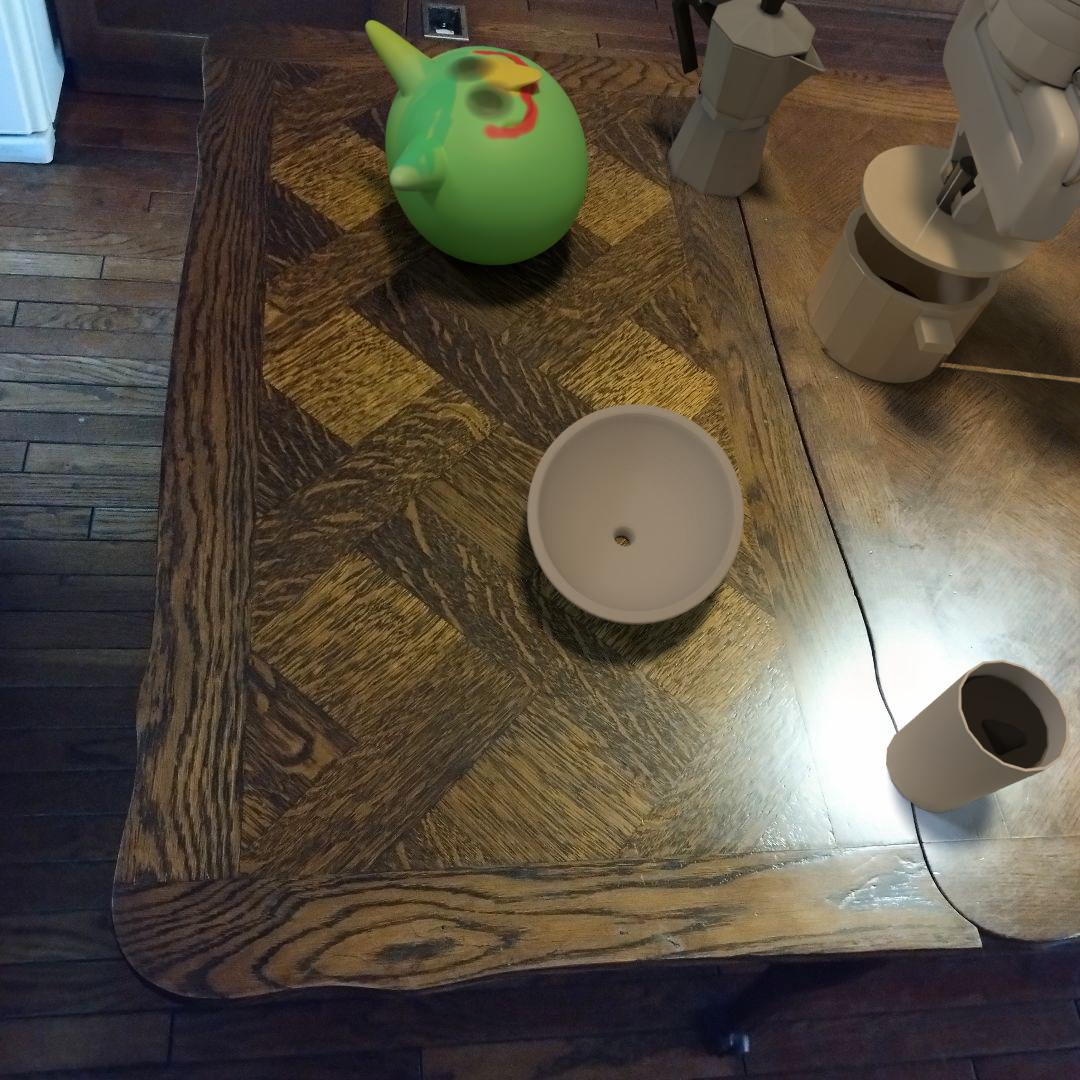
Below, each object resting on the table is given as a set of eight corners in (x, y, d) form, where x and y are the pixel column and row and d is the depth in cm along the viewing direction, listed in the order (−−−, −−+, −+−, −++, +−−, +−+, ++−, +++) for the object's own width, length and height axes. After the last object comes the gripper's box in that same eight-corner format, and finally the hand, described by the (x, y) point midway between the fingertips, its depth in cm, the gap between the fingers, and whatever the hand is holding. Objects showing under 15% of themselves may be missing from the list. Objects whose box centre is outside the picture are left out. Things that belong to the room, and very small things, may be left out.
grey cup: (996, 801, 64) (1093, 752, 55) (911, 832, 62) (998, 786, 53) (944, 708, 67) (1028, 647, 58) (861, 735, 65) (936, 676, 56)
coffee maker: (791, 187, 92) (875, 0, 77) (738, 229, 88) (816, 41, 73) (668, 104, 96) (725, -90, 81) (612, 141, 92) (661, -56, 76)
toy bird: (594, 296, 81) (635, 146, 69) (390, 312, 77) (394, 156, 65) (542, 150, 90) (570, -8, 77) (355, 157, 85) (353, -8, 73)
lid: (1005, 170, 79) (1040, 118, 75) (1048, 294, 72) (1088, 245, 68) (844, 146, 77) (870, 93, 73) (872, 271, 70) (902, 220, 66)
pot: (925, 259, 90) (973, 184, 83) (966, 416, 81) (1025, 347, 73) (792, 242, 88) (830, 164, 81) (819, 400, 79) (864, 328, 72)
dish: (566, 417, 74) (578, 374, 70) (745, 485, 74) (768, 446, 69) (481, 608, 65) (489, 573, 61) (684, 689, 64) (707, 658, 60)
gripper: (1166, 138, 56) (1028, 308, 68) (1072, -59, 67) (966, 118, 79) (1065, 122, 56) (942, 297, 67) (985, -74, 66) (891, 107, 78)
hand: (955, 199), depth 73 cm, fingers closed on lid, 2 cm apart
